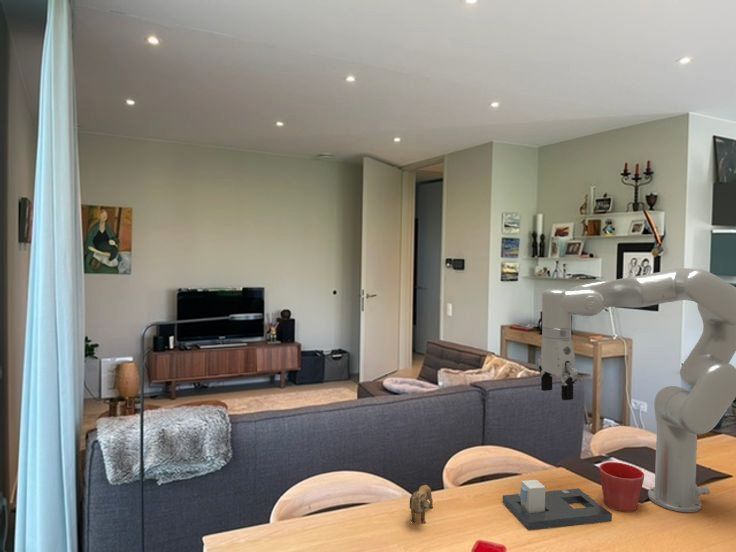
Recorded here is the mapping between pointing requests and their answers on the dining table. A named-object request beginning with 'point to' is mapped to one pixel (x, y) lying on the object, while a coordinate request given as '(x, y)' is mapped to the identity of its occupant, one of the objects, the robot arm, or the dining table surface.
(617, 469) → the flower pot
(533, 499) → the plug
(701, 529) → the dining table surface
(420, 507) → the brown animal figurine
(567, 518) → the panel
